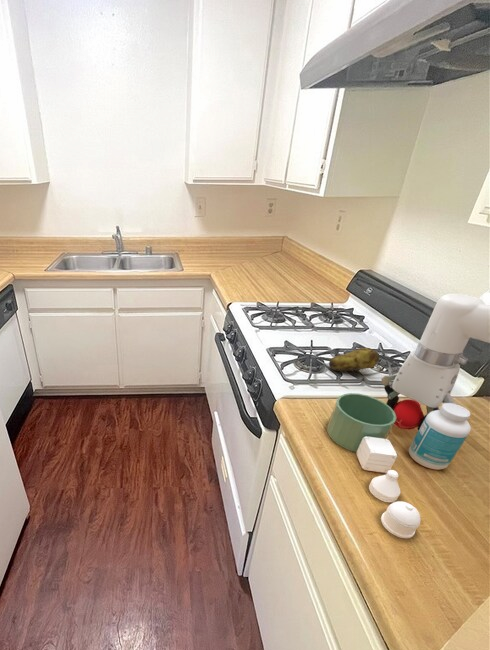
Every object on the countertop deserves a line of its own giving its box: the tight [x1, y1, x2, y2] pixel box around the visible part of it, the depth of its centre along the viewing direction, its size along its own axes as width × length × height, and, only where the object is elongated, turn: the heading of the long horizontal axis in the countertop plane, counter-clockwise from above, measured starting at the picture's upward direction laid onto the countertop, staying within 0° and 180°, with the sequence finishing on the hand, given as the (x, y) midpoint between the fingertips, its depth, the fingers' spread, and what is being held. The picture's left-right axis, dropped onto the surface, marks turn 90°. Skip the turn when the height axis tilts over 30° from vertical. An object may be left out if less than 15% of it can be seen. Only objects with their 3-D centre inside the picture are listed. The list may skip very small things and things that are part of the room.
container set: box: [356, 436, 422, 539], centre depth 66 cm, size 20×5×6 cm, turn 170°
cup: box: [326, 392, 396, 453], centre depth 79 cm, size 12×12×8 cm
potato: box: [328, 347, 380, 372], centre depth 104 cm, size 8×13×8 cm, turn 65°
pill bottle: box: [408, 403, 472, 471], centre depth 72 cm, size 8×7×14 cm
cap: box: [393, 398, 425, 430], centre depth 82 cm, size 8×6×6 cm
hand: (404, 419), depth 83 cm, fingers closed on cap, 6 cm apart
